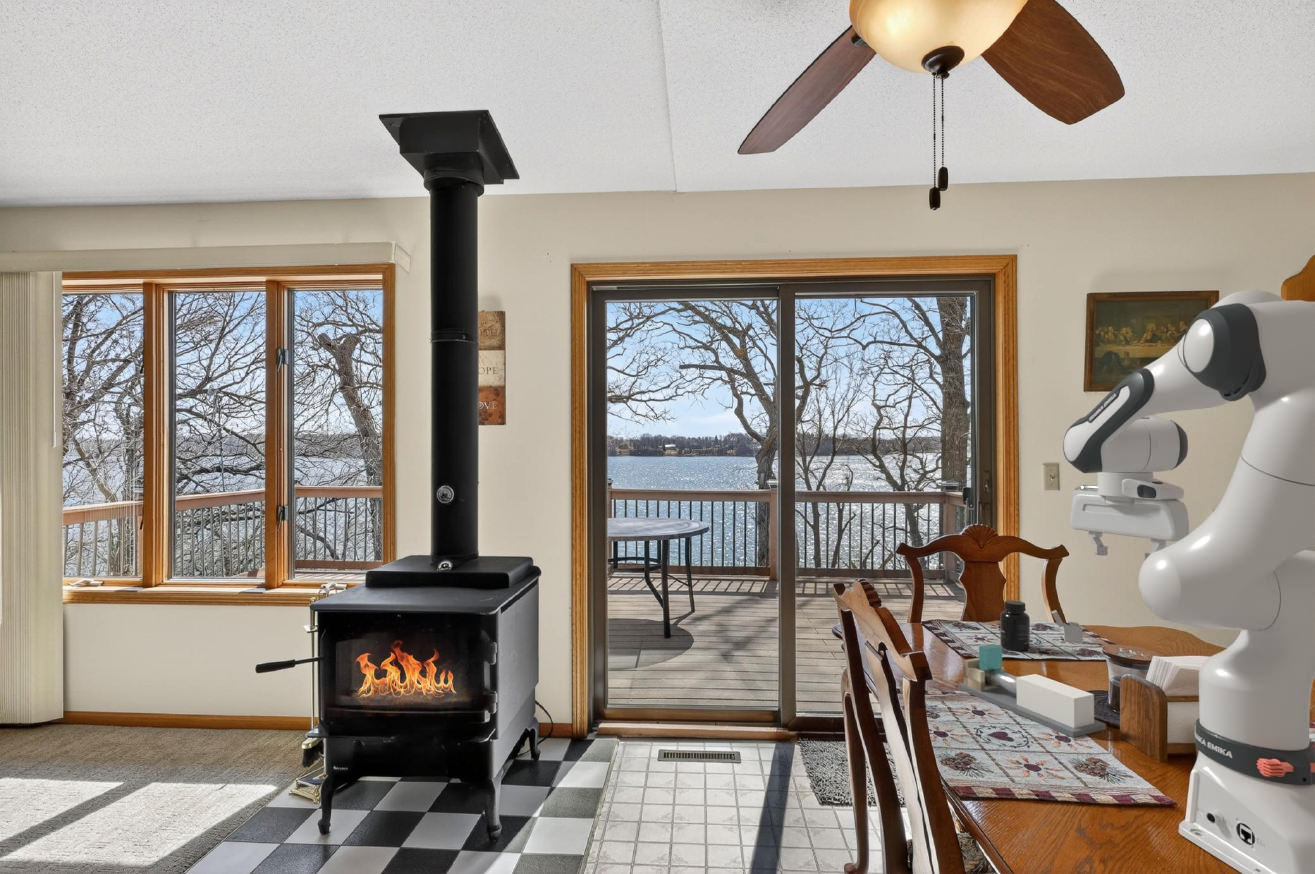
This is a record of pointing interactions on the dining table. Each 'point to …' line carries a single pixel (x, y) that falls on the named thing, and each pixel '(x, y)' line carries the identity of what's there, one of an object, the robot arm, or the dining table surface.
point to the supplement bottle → (1015, 627)
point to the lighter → (1069, 629)
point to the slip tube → (995, 668)
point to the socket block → (976, 675)
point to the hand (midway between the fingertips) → (1125, 558)
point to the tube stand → (1046, 704)
